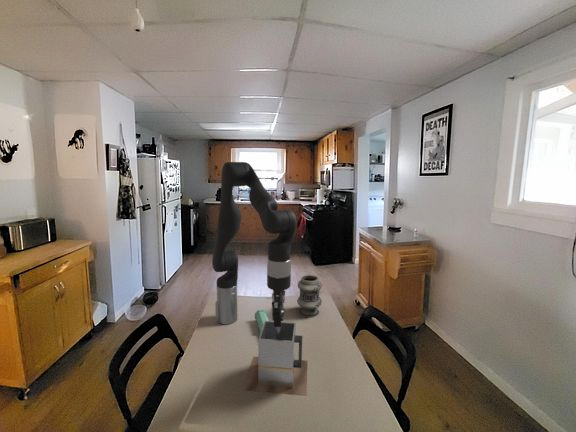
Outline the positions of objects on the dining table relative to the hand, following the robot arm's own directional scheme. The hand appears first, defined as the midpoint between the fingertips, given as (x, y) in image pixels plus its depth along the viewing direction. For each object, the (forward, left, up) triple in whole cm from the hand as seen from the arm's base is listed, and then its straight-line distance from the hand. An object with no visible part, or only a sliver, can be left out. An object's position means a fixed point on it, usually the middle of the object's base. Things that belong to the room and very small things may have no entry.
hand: (278, 322), depth 90 cm
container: (-8, +24, -21) cm, 33 cm away
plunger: (0, 0, -13) cm, 13 cm away
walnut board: (0, 0, -20) cm, 20 cm away
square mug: (+1, 0, -19) cm, 19 cm away
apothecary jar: (+10, +46, -20) cm, 51 cm away
